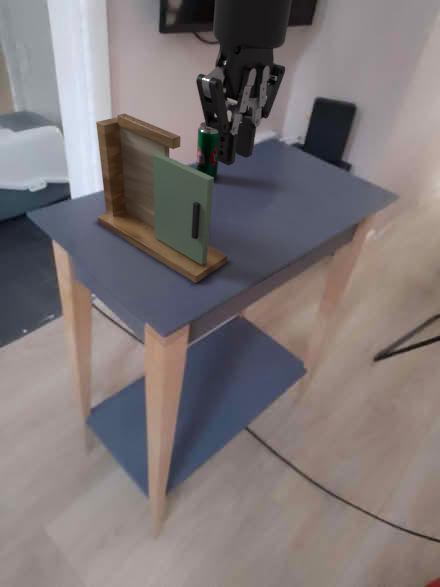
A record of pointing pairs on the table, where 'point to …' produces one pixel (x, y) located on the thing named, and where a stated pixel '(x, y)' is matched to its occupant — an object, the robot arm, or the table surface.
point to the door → (182, 207)
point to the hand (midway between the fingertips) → (234, 158)
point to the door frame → (141, 190)
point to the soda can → (207, 150)
